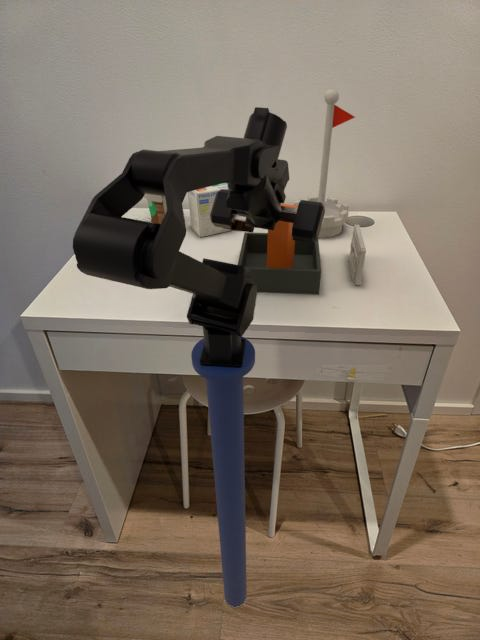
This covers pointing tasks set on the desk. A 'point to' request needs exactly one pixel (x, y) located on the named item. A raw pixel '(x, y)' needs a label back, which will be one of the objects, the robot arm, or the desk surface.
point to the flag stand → (333, 211)
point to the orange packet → (281, 245)
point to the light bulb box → (204, 209)
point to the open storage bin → (282, 279)
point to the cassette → (357, 255)
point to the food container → (156, 207)
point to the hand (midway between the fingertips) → (276, 233)
